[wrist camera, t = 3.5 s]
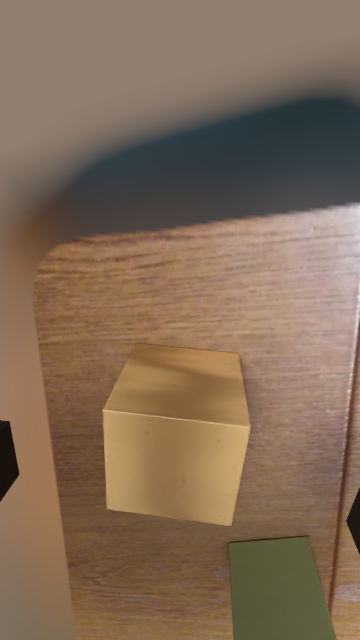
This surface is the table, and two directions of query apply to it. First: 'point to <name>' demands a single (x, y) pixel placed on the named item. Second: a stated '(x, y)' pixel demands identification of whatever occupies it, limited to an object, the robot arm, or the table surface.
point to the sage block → (277, 591)
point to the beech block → (176, 434)
